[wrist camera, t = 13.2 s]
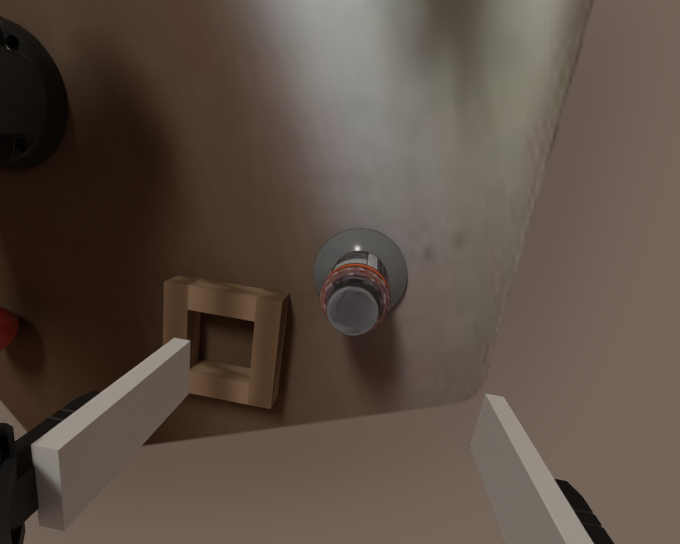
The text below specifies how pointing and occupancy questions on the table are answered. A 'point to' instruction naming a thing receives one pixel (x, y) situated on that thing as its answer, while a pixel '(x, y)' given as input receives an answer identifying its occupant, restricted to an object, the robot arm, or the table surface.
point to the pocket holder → (237, 302)
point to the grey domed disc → (370, 243)
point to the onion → (7, 327)
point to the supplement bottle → (356, 293)
